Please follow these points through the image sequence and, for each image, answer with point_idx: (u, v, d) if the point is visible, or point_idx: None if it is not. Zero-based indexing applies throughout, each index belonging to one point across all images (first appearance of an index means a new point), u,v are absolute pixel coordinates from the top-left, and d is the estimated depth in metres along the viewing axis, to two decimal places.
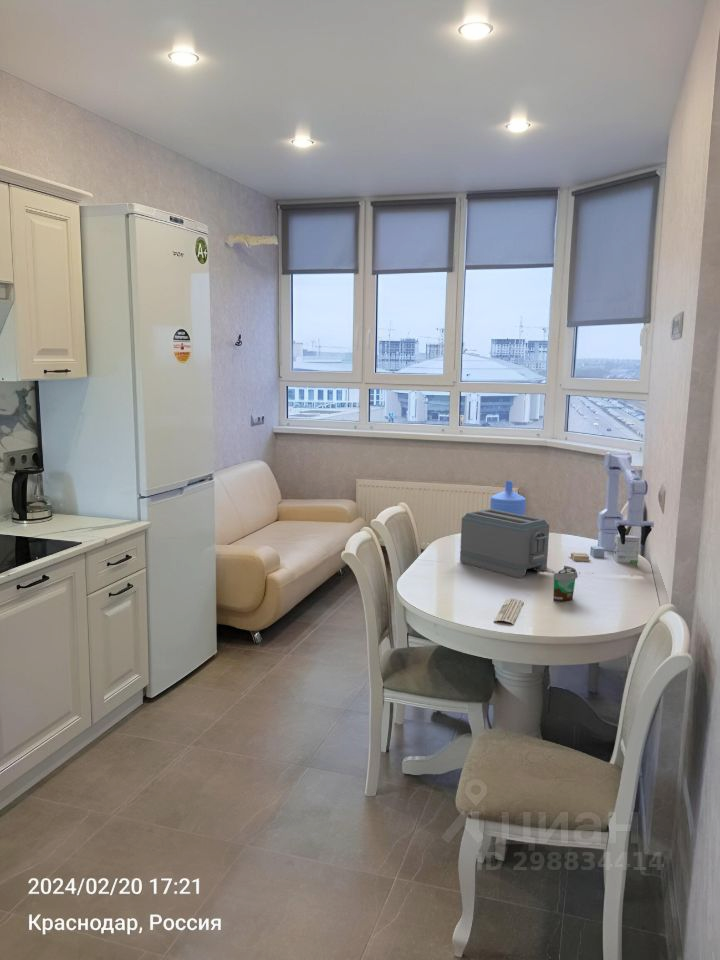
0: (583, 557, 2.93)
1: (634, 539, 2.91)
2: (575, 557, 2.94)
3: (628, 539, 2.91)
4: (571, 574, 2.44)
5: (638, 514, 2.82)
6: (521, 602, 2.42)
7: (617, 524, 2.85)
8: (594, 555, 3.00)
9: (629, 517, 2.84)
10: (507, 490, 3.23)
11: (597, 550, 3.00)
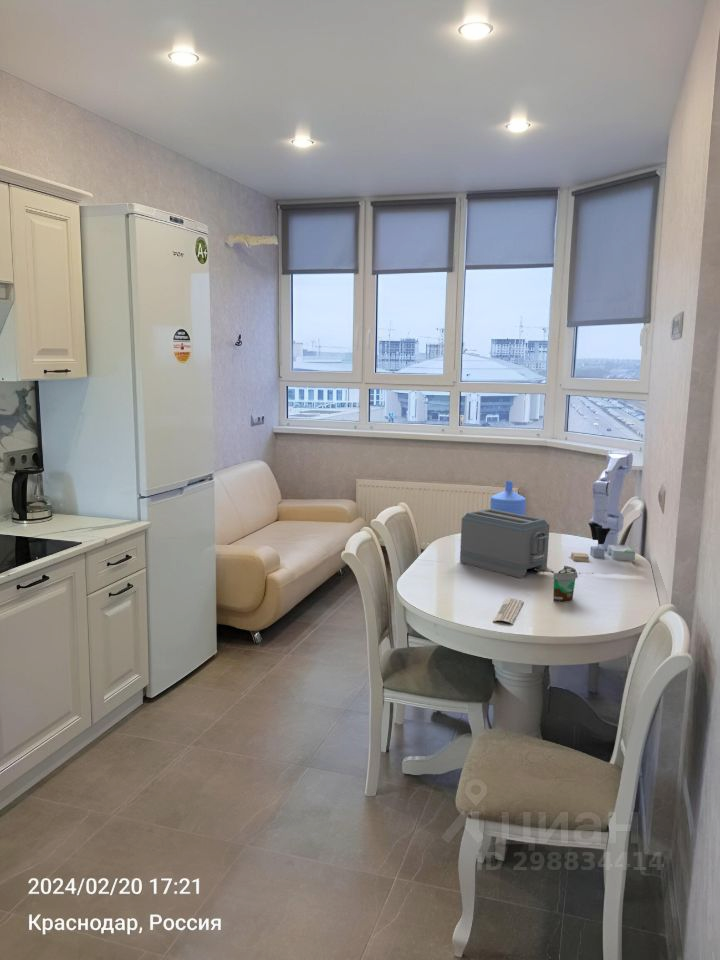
0: (583, 557, 2.93)
1: (623, 545, 3.07)
2: (575, 557, 2.94)
3: (617, 545, 3.07)
4: (571, 574, 2.44)
5: (593, 512, 3.00)
6: (521, 602, 2.42)
7: None
8: (594, 555, 3.00)
9: None
10: (507, 490, 3.23)
11: (597, 550, 3.00)
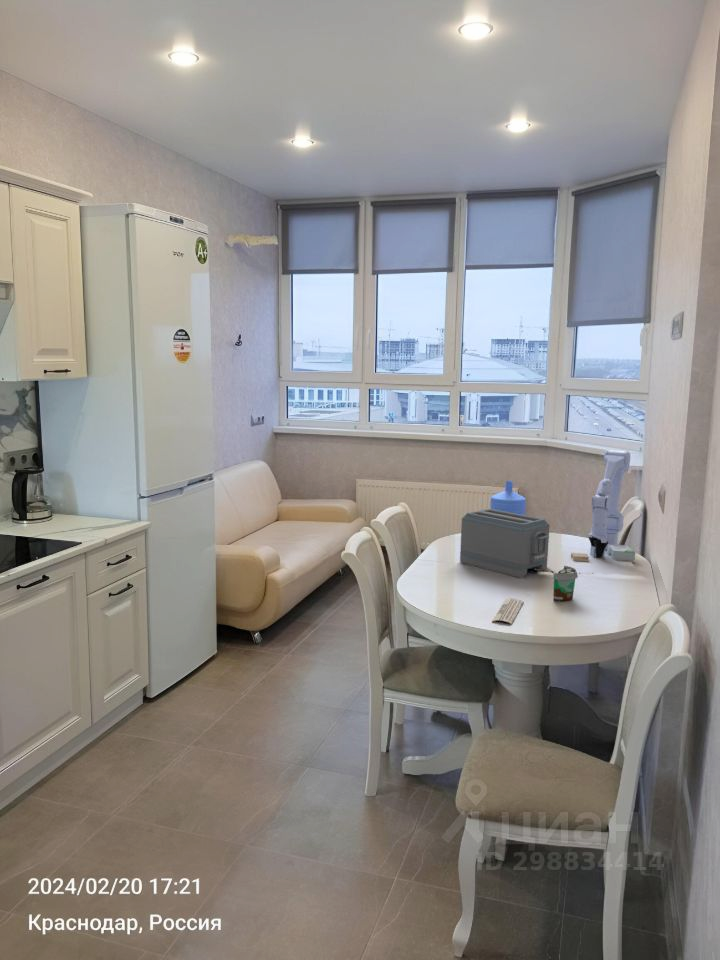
0: (583, 557, 2.93)
1: (623, 545, 3.07)
2: (575, 557, 2.94)
3: (617, 545, 3.07)
4: (571, 574, 2.44)
5: (592, 526, 3.00)
6: (521, 602, 2.42)
7: None
8: (594, 555, 3.00)
9: None
10: (507, 490, 3.23)
11: None
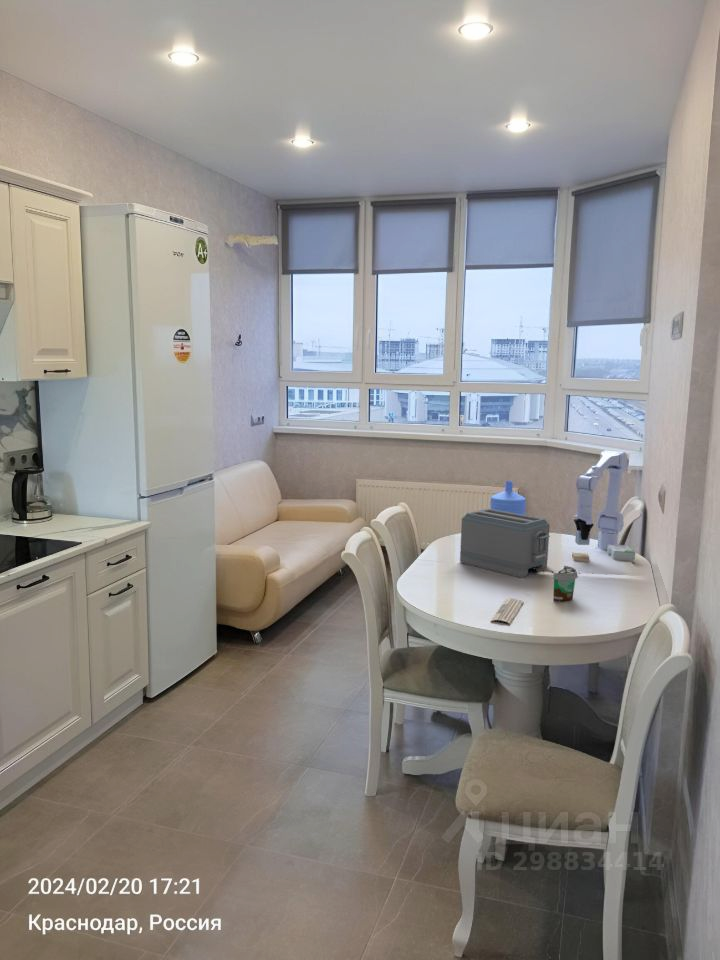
0: (583, 557, 2.93)
1: (623, 545, 3.07)
2: (575, 557, 2.94)
3: (617, 545, 3.07)
4: (571, 574, 2.44)
5: (577, 507, 2.94)
6: (521, 602, 2.42)
7: None
8: (579, 539, 2.94)
9: None
10: (507, 490, 3.23)
11: None
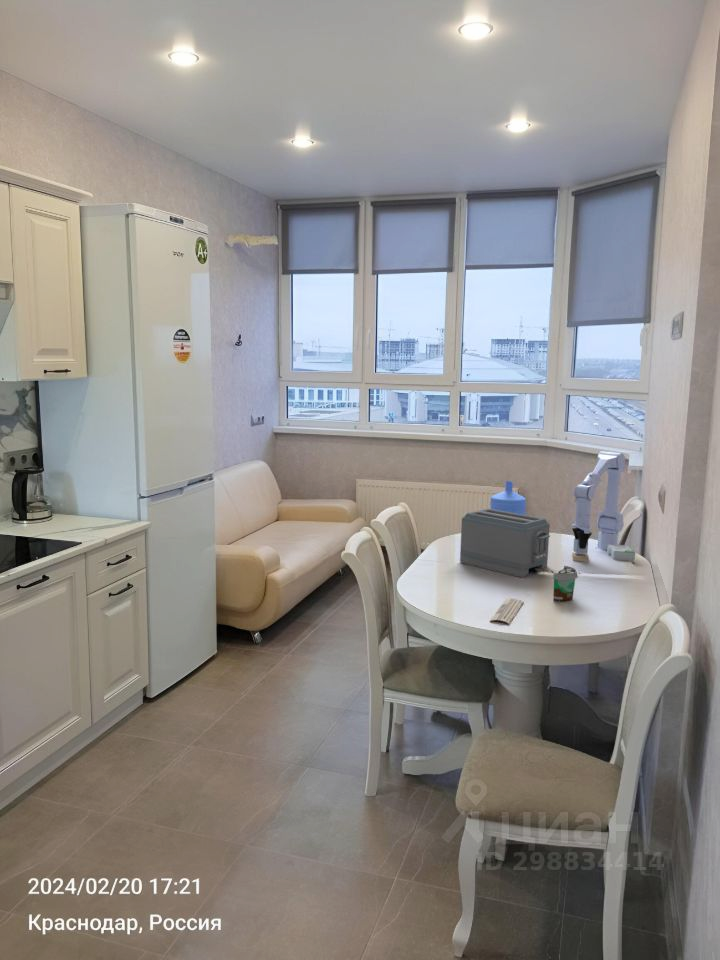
0: (583, 557, 2.93)
1: (623, 545, 3.07)
2: (574, 557, 2.94)
3: (617, 545, 3.07)
4: (571, 574, 2.44)
5: (576, 516, 2.94)
6: (521, 602, 2.42)
7: (574, 524, 3.02)
8: (577, 548, 2.94)
9: None
10: (507, 490, 3.23)
11: None
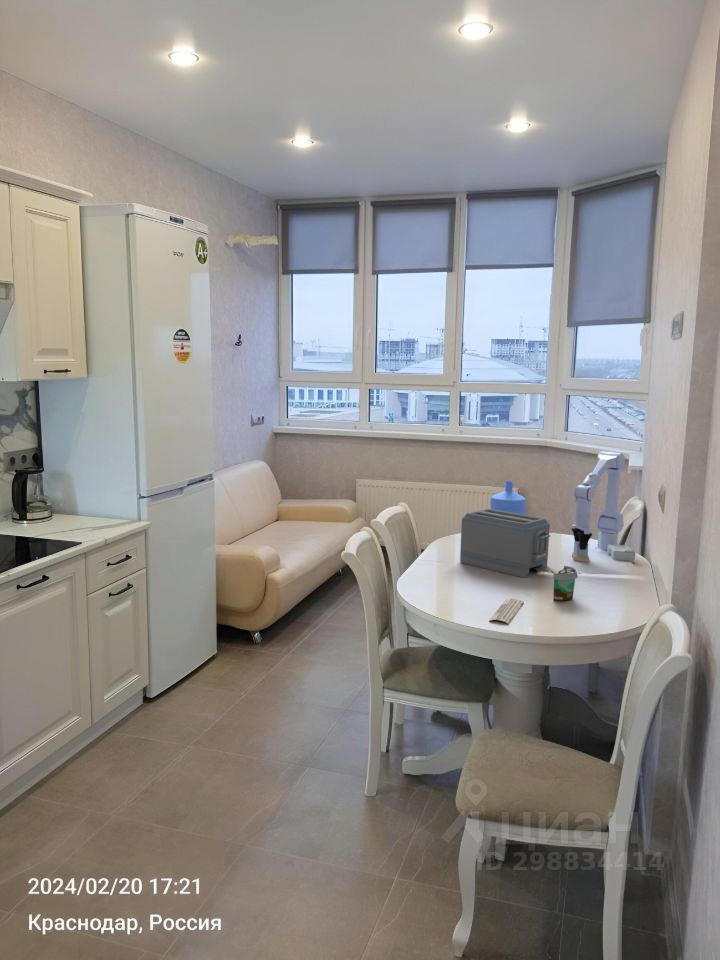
0: (583, 557, 2.93)
1: (623, 545, 3.07)
2: (575, 557, 2.94)
3: (617, 545, 3.07)
4: (571, 574, 2.44)
5: (575, 517, 2.94)
6: (521, 602, 2.42)
7: None
8: (577, 550, 2.94)
9: None
10: (506, 490, 3.23)
11: None
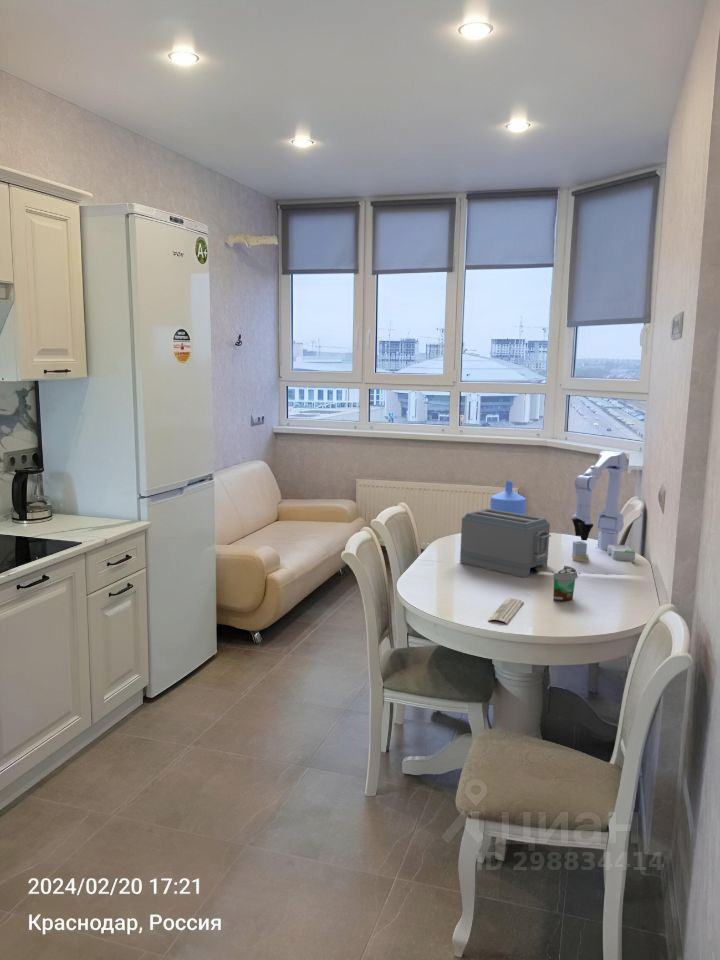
0: (583, 557, 2.93)
1: (623, 545, 3.07)
2: (574, 557, 2.94)
3: (617, 545, 3.07)
4: (571, 574, 2.44)
5: (576, 507, 2.93)
6: (521, 602, 2.42)
7: None
8: (576, 550, 2.94)
9: None
10: (507, 490, 3.23)
11: (579, 545, 2.94)
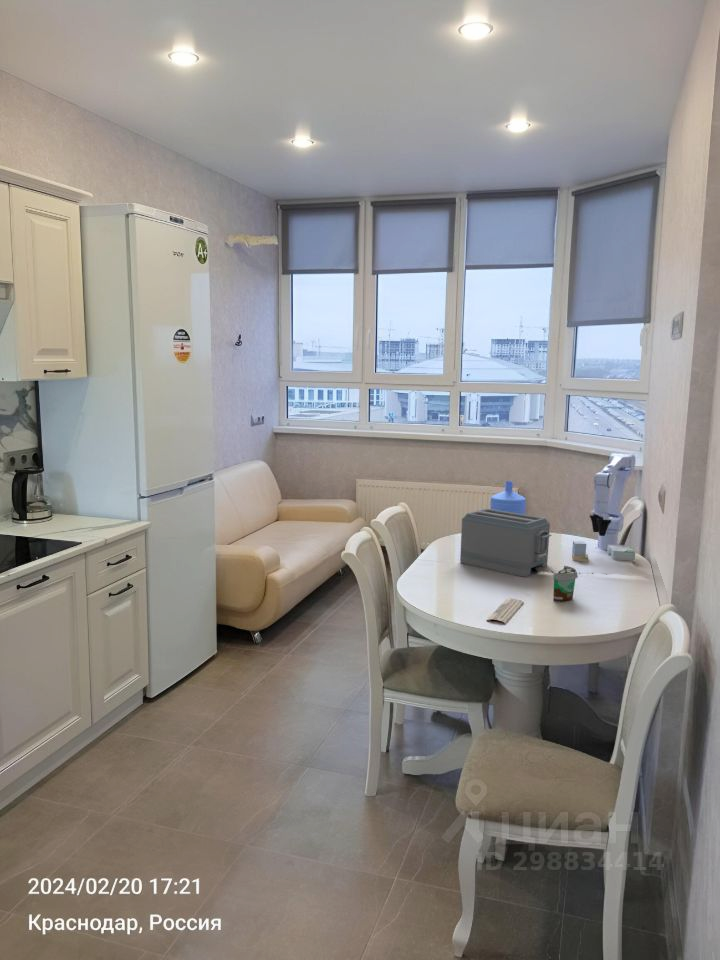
0: (582, 557, 2.93)
1: (623, 545, 3.07)
2: (574, 557, 2.94)
3: (617, 545, 3.07)
4: (571, 574, 2.44)
5: (594, 503, 3.01)
6: (521, 602, 2.42)
7: None
8: (575, 550, 2.94)
9: None
10: (507, 490, 3.23)
11: (578, 545, 2.94)
